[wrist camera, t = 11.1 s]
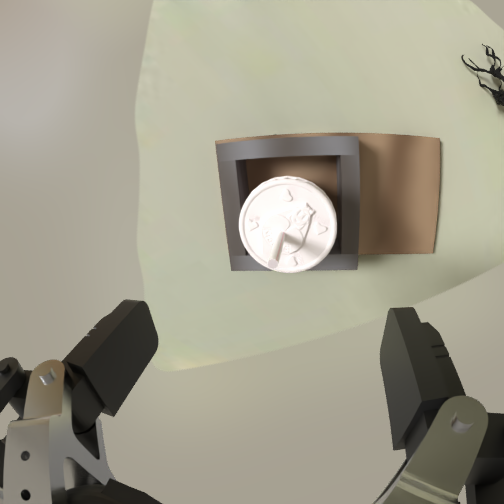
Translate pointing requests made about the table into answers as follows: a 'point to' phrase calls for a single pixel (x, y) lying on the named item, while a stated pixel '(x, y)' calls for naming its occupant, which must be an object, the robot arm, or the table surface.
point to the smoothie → (288, 224)
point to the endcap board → (341, 189)
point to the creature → (500, 95)
